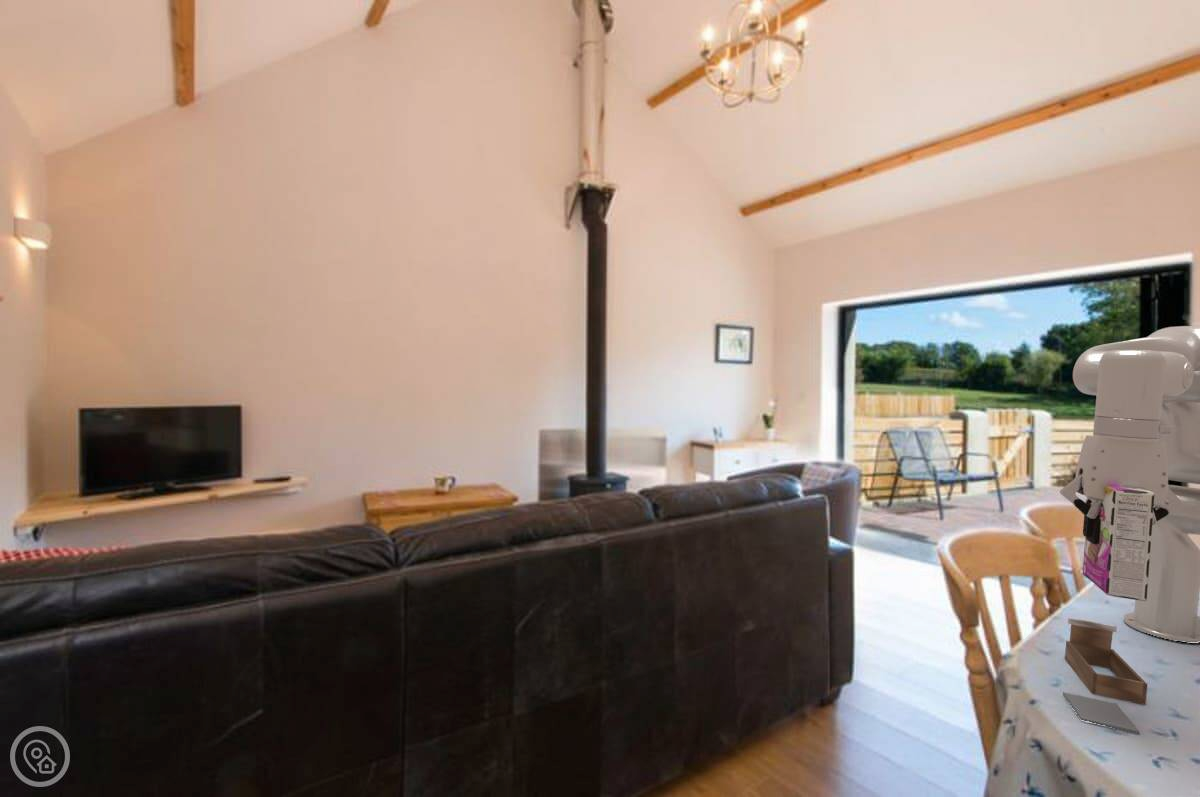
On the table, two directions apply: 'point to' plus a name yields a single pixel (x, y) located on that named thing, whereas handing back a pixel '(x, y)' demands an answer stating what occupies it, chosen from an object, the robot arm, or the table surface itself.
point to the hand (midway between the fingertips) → (1115, 543)
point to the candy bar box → (1122, 544)
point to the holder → (1102, 662)
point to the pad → (1101, 712)
